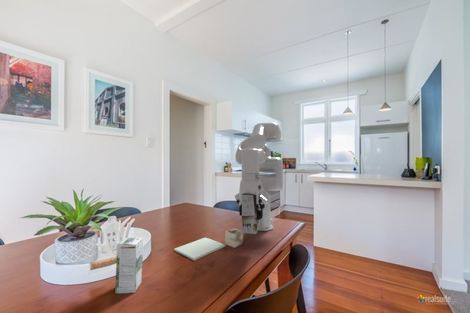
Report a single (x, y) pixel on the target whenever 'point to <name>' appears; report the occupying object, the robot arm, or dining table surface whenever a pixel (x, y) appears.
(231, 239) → the birch cube
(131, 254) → the syrup box
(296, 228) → the dining table surface
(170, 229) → the dining table surface
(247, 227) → the coffee box
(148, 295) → the dining table surface
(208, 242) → the sage mat
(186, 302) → the dining table surface
